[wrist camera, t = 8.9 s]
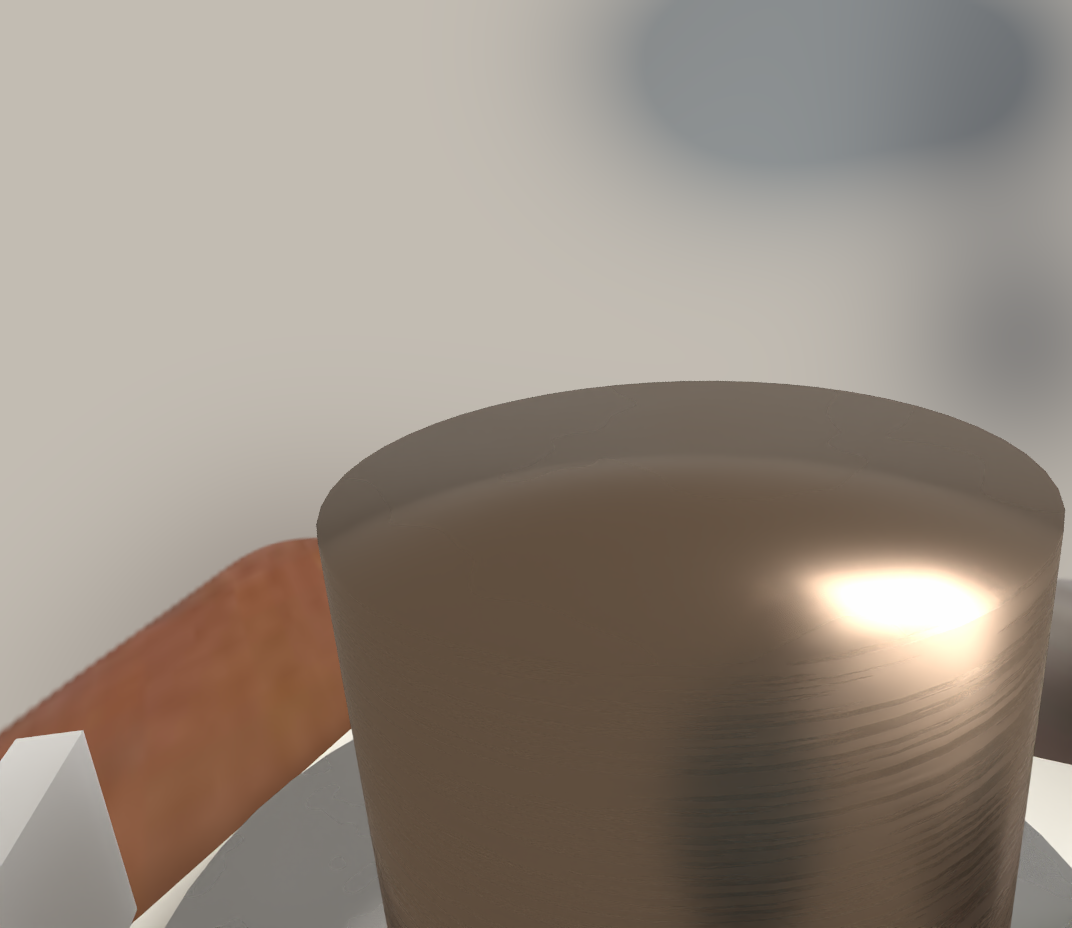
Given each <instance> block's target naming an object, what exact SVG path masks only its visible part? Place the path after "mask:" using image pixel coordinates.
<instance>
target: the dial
mask: <svg viewBox="0 0 1072 928" xmlns="http://www.w3.org/2000/svg"><path fill="white" fill-rule="evenodd" d="M1064 514H1065V508H1064V505H1063V502H1062V499H1061V496H1060V493H1059V490H1058V488H1057V487H1056V485H1055V484H1054V482H1053V481H1052V480H1051V478H1050V477H1049V476H1048V474H1047V473H1046V471H1045V470H1044V469H1042V468H1041V467H1040V466H1039V465H1038V464H1037V463H1036V462H1035V461H1034V460H1032V459H1031V458H1030V457H1029V456H1028V455H1027V454H1025V453H1024V452H1022V451H1021V450H1019V449H1018V448H1016V447H1014V446H1013V445H1011V444H1009V443H1008V442H1007V441H1005V440H1003V439H1002V438H999V437H997V436H995V435H993V434H991V433H989V432H987V431H985V430H983V429H981V428H979V427H977V426H974V425H972V424H969V423H966V422H964V421H961V420H958V419H956V418H953V417H951V416H948V415H945V414H942V413H938V412H935V411H932V410H929V409H925V408H922V407H919V406H915V405H911V404H906V403H902V402H898V401H894V400H890V399H886V398H881V397H875V396H870V395H865V394H859V393H854V392H848V391H840V390H833V389H825V388H819V387H810V386H800V385H789V384H776V383H759V382H735V381H733V382H732V381H677V382H656V383H655V382H654V383H639V384H626V385H614V386H605V387H596V388H587V389H580V390H573V391H566V392H559V393H553V394H547V395H542V396H537V397H532V398H526V399H521V400H517V401H512V402H508V403H504V404H499V405H495V406H491V407H487V408H483V409H480V410H477V411H473V412H470V413H466V414H462V415H459V416H456V417H453V418H450V419H447V420H445V421H442V422H439V423H436V424H433V425H431V426H428V427H426V428H423V429H421V430H419V431H416V432H414V433H411V434H409V435H407V436H405V437H403V438H401V439H399V440H397V441H395V442H393V443H391V444H389V445H387V446H385V447H383V448H381V449H380V450H378V451H377V452H375V453H373V454H372V455H370V456H368V457H367V458H365V459H364V460H362V461H361V462H360V463H359V464H357V465H356V466H355V467H354V468H352V469H351V470H350V471H349V472H347V473H346V474H345V475H344V476H343V477H342V478H341V479H340V480H339V482H338V483H337V484H336V485H335V486H334V487H333V488H332V489H331V490H330V492H329V494H328V496H327V497H326V499H325V501H324V502H323V504H322V506H321V509H320V512H319V516H318V520H317V524H316V525H317V538H318V546H319V552H320V557H321V563H322V568H323V574H324V579H325V585H326V591H327V596H328V602H329V607H330V613H331V618H332V624H333V629H334V635H335V641H336V646H337V652H338V657H339V663H340V668H341V674H342V679H343V685H344V690H345V696H346V702H347V707H348V713H349V718H350V724H351V729H352V735H353V740H351V741H350V742H348V743H346V744H344V745H343V746H341V747H339V748H338V749H336V750H334V751H333V752H331V753H329V754H328V755H327V756H325V757H324V758H322V759H321V760H319V761H318V762H317V763H315V764H314V765H312V766H311V767H310V768H308V769H307V770H305V771H304V772H303V773H301V774H300V775H298V776H297V777H296V778H294V779H293V780H292V781H290V782H289V783H288V784H287V785H286V786H285V787H283V788H282V789H281V790H280V791H279V792H278V793H276V794H275V795H274V796H273V797H272V798H271V799H269V800H268V801H267V802H266V803H265V804H264V805H263V806H261V807H260V808H259V809H258V810H257V811H256V812H255V813H254V814H253V815H252V816H251V817H250V818H249V819H248V820H247V821H246V822H245V823H244V824H243V825H242V826H241V827H240V828H239V829H238V830H237V831H236V832H235V833H234V835H233V836H232V837H231V838H230V839H229V840H228V841H227V842H226V843H225V844H224V845H223V846H222V847H221V848H220V850H219V851H218V852H217V853H216V855H215V856H214V857H213V858H212V860H211V861H210V862H209V864H208V865H207V866H206V867H205V869H204V870H203V871H202V873H201V874H200V875H199V876H198V878H197V879H196V880H195V882H194V883H193V884H192V885H191V887H190V888H189V889H188V891H187V893H186V894H185V896H184V897H183V899H182V901H181V902H180V904H179V905H178V907H177V909H176V910H175V912H174V913H173V915H172V917H171V918H170V920H169V921H168V923H167V925H166V926H165V928H1072V868H1071V867H1070V866H1069V864H1068V863H1067V862H1066V861H1065V860H1064V859H1063V858H1062V857H1061V856H1060V855H1059V854H1058V852H1057V851H1056V850H1055V849H1054V848H1053V847H1052V846H1051V845H1050V844H1049V843H1048V842H1047V840H1046V839H1045V838H1044V837H1043V836H1042V835H1041V834H1040V833H1039V832H1037V831H1036V830H1035V829H1034V828H1033V827H1032V826H1031V825H1030V824H1028V823H1027V822H1026V821H1025V815H1026V808H1027V800H1028V793H1029V785H1030V778H1031V771H1032V763H1033V756H1034V748H1035V741H1036V733H1037V726H1038V718H1039V711H1040V703H1041V696H1042V688H1043V681H1044V673H1045V666H1046V658H1047V651H1048V643H1049V636H1050V629H1051V621H1052V614H1053V606H1054V599H1055V591H1056V584H1057V576H1058V569H1059V561H1060V554H1061V546H1062V539H1063V531H1064V517H1065V515H1064Z"/></svg>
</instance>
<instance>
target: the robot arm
mask: <svg viewBox="0 0 1072 928" xmlns="http://www.w3.org/2000/svg"><path fill="white" fill-rule="evenodd" d="M136 911H137V907H136V903H135V900H134V897H133V894H132V890H131V887H130V884H129V880H128V877H127V874H126V870H125V867H124V864H123V861H122V857H121V854H120V851H119V847H118V844H117V841H116V837H115V834H114V831H113V827H112V824H111V821H110V818H109V814H108V811H107V808H106V804H105V801H104V798H103V794H102V791H101V788H100V784H99V781H98V778H97V775H96V771H95V768H94V765H93V761H92V758H91V755H90V751H89V748H88V745H87V741H86V738H85V735H84V732H83V730H81V731H74V732H66V733H58V734H51V735H43V736H35V737H28V738H20V739H16V740H15V741H14V743H13V744H12V746H11V747H10V748H9V750H8V751H7V753H6V754H5V755H4V757H3V758H2V760H1V761H0V928H130V926H131V924H132V921H133V918H134V916H135V913H136Z"/></svg>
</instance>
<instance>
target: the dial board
mask: <svg viewBox="0 0 1072 928" xmlns="http://www.w3.org/2000/svg"><path fill="white" fill-rule="evenodd" d="M351 740H353V735H352V729H350V730H349V731H348V732H347V733H346V734H345V735H344V736H343V737H341V738H340V739H339V740H338V741H337V742H336V743H335V744H334V745H332V746H331V747H330V748H329V749H328V750H327V751H326V752H325V753H323V754H322V755H321V756H320V757H319V758H318V759H317V760H316V761H314V762H313V763H312V764H311V765H310V766H309V767H308V768H310V767H311V766H312V765H314V764H315V763H317V762H318V761H319V760H321V759H322V758H324V757H325V756H327V755H328V754H329V753H331V752H333V751H334V750H336V749H338V748H339V747H341V746H343V745H344V744H346V743H348V742H350V741H351ZM308 768H307V769H308ZM307 769H305V770H307ZM305 770H304V771H305ZM304 771H303V772H304ZM303 772H302V773H303ZM1025 821H1026V822H1027V823H1028V824H1030V825H1031V826H1032V827H1033V828H1034V829H1035V830H1036V831H1037V832H1039V833H1040V834H1041V835H1042V836H1043V837H1044V838H1045V839H1046V840H1047V842H1048V843H1049V844H1050V845H1051V846H1052V847H1053V848H1054V849H1055V850H1056V851H1057V852H1058V854H1059V855H1060V856H1061V857H1062V858H1063V859H1064V860H1065V861H1066V862H1067V863H1068V864H1069V866H1070V867H1071V868H1072V765H1069V764H1065V763H1060V762H1056V761H1051V760H1047V759H1042V758H1038V757H1033V763H1032V771H1031V778H1030V785H1029V793H1028V800H1027V808H1026V815H1025ZM233 835H234V833H233V834H232V835H231V836H230V837H229V838H228V839H227V840H226V841H224V842H223V843H222V844H221V845H220V846H219V847H218V848H217V849H215V850H214V851H213V852H212V853H211V854H210V855H209V856H208V857H207V858H205V859H204V860H203V861H202V862H201V863H200V864H199V865H198V866H196V867H195V868H194V869H193V870H192V871H191V872H190V873H189V874H187V875H186V876H185V877H184V878H183V879H182V880H181V881H180V882H178V883H177V884H176V885H175V886H174V887H173V888H172V889H171V890H169V891H168V892H167V893H166V894H165V895H164V896H163V897H162V898H160V899H159V900H158V901H157V902H156V903H155V904H154V905H153V906H151V907H150V908H149V909H148V910H147V911H146V912H145V913H144V914H142V915H141V916H140V917H139V918H138V919H137V920H136V921H135V922H133V923H132V924H131V926H130V928H165V926H166V925H167V923H168V921H169V920H170V918H171V917H172V915H173V913H174V912H175V910H176V909H177V907H178V905H179V904H180V902H181V901H182V899H183V897H184V896H185V894H186V893H187V891H188V889H189V888H190V887H191V885H192V884H193V883H194V882H195V880H196V879H197V878H198V876H199V875H200V874H201V873H202V871H203V870H204V869H205V867H206V866H207V865H208V864H209V862H210V861H211V860H212V858H213V857H214V856H215V855H216V853H217V852H218V851H219V850H220V848H221V847H222V846H223V845H224V844H225V843H226V842H227V841H228V840H229V839H230V838H231V837H232V836H233Z"/></svg>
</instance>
